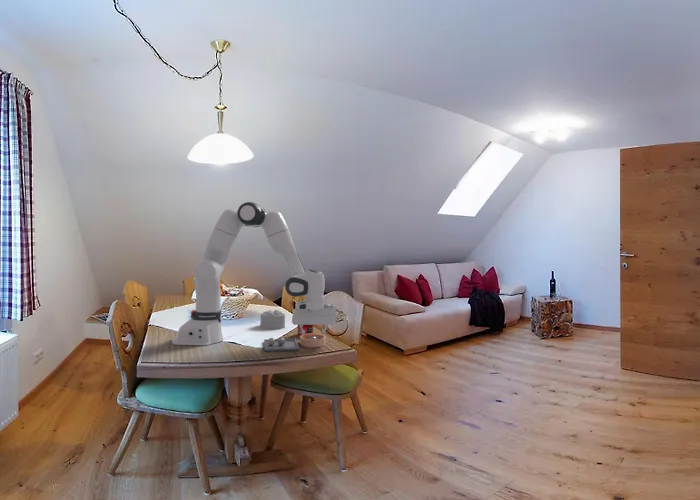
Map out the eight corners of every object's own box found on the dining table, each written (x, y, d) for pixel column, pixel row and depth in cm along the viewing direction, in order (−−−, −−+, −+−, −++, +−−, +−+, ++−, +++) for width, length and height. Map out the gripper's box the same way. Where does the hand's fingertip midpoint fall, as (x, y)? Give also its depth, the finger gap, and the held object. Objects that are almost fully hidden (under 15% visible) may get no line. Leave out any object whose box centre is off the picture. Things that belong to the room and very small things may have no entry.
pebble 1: (267, 346, 187) (267, 339, 187) (267, 344, 191) (267, 337, 191) (275, 346, 188) (275, 338, 188) (274, 344, 191) (274, 336, 191)
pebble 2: (277, 346, 188) (277, 338, 188) (277, 344, 192) (277, 336, 192) (285, 345, 189) (285, 338, 189) (284, 343, 193) (284, 336, 192)
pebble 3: (309, 343, 196) (309, 336, 195) (316, 342, 196) (316, 335, 196) (310, 345, 192) (310, 338, 192) (317, 344, 193) (317, 337, 193)
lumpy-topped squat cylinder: (267, 323, 234) (268, 308, 234) (288, 326, 231) (288, 310, 230) (258, 327, 225) (258, 311, 224) (279, 330, 221) (280, 314, 220)
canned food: (310, 337, 208) (311, 315, 207) (295, 336, 210) (295, 314, 209) (314, 333, 216) (315, 312, 215) (300, 332, 217) (300, 311, 217)
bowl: (301, 347, 189) (301, 340, 189) (298, 340, 201) (298, 333, 201) (327, 347, 192) (327, 339, 192) (323, 340, 204) (323, 333, 203)
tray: (264, 351, 181) (265, 349, 181) (263, 342, 197) (264, 339, 196) (299, 350, 184) (299, 348, 184) (295, 341, 200) (295, 338, 200)
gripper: (335, 303, 199) (333, 331, 200) (292, 303, 194) (291, 332, 195) (337, 305, 193) (336, 335, 193) (293, 305, 188) (292, 335, 189)
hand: (313, 333), depth 194 cm, fingers open, 8 cm apart
